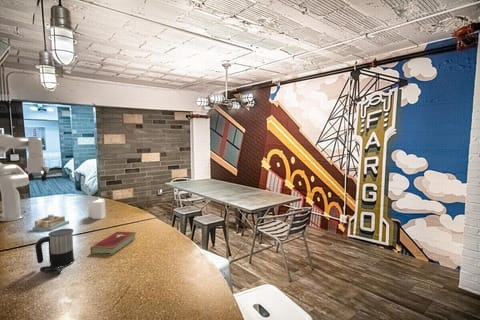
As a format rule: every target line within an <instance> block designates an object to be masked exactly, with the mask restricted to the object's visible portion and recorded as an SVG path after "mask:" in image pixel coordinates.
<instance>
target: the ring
mask: <svg viewBox="0 0 480 320" xmlns="http://www.w3.org/2000/svg"><path fill="white" fill-rule="evenodd" d="M53 218H54V220H51V221H49V217H48V216H46V217H42V218H39V219H36V220H34V227H53V226H56V225H58V224H61V223H63V222H65V221H66V219H65V216H63V215H61V216H60V215H54V216H53Z"/></svg>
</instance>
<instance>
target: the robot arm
mask: <svg viewBox="0 0 480 320" xmlns="http://www.w3.org/2000/svg"><path fill="white" fill-rule="evenodd" d="M10 149H13V150H14V149H15V150H18V149H19V150H22V149H27V150H28V155H27V156H28V157H27V162H26V163H27V164H26V167H25V168H24V170H25V171H24V170H23V169H22V167H20V166H19V165H17V164H16V163H9V164H8V163H6V164H5V163H2V162H0V195H1V207H2V212H1V213H0V221H1V222H12V221H19V220H21V219H23V218H24V217H25V215H24V214H22V210H21V208H22V207H21V196H20V192H19V190H18V189H17V188H21V187H25V186H27V185H29V184H30V182H31V181H34V180H35V178H34V173H35V174H38V173H40V174H41V175H40V176H41V181H42V182H45V181H47V175H48V174H49V170H50V168H48V167H47V166H46V162H45V158H44V153H43V140H42V138H40V137H14V136H13V135H11V134H5V133H0V156H2V155H4V154H5V153H7V151H8V150H10Z"/></svg>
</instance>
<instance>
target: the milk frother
mask: <svg viewBox="0 0 480 320" xmlns="http://www.w3.org/2000/svg"><path fill="white" fill-rule="evenodd" d="M73 233H74V229H73V228H60V229H54V230H52V231H50V232H49V233H48V235H47V236H43V237H41V238H39V239H38V240H37V241H36V243H35V246H34V247H35V255H36V260H37V261H36V262H37V263H38V264H42V263H43V261H44V253H43V244H44V243H48V259H49V265H45V266H42V267H40V268H39V271H40V272H41V273H44V274H48V275H54V274H55V275H58V273H59V274H60V272H61V271H62V272H63V269H62V267H60V266H64V267H66V266H65V265H67V266H69V265H68V264H70V263H71V262H73V261H74V262H75V257H74V239H73V238H74V237H73V236H74V235H73ZM74 262H73V263H74ZM70 265H71V264H70ZM58 267H60V268H58ZM62 272H61V273H62Z"/></svg>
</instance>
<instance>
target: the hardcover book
mask: <svg viewBox="0 0 480 320" xmlns="http://www.w3.org/2000/svg"><path fill="white" fill-rule="evenodd" d="M136 233H137V232H136V231H118V230H117V231H115V232H114V233H112V234H110V235H108V236H107V237H105V238H104V239H102V240H100V241H98V242H97V243H95V244H94V245H92V246H90V253H91V254H98V253H110V254H109V255H114V254H116V253H117V252H118V251H120V250H121V249H122V247H123V248H124V247H126V245H128V244H129V243H132V241H134V240H135V239H136ZM119 249H120V250H119ZM116 251H117V252H116ZM115 252H116V253H115ZM113 253H114V254H113Z"/></svg>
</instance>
